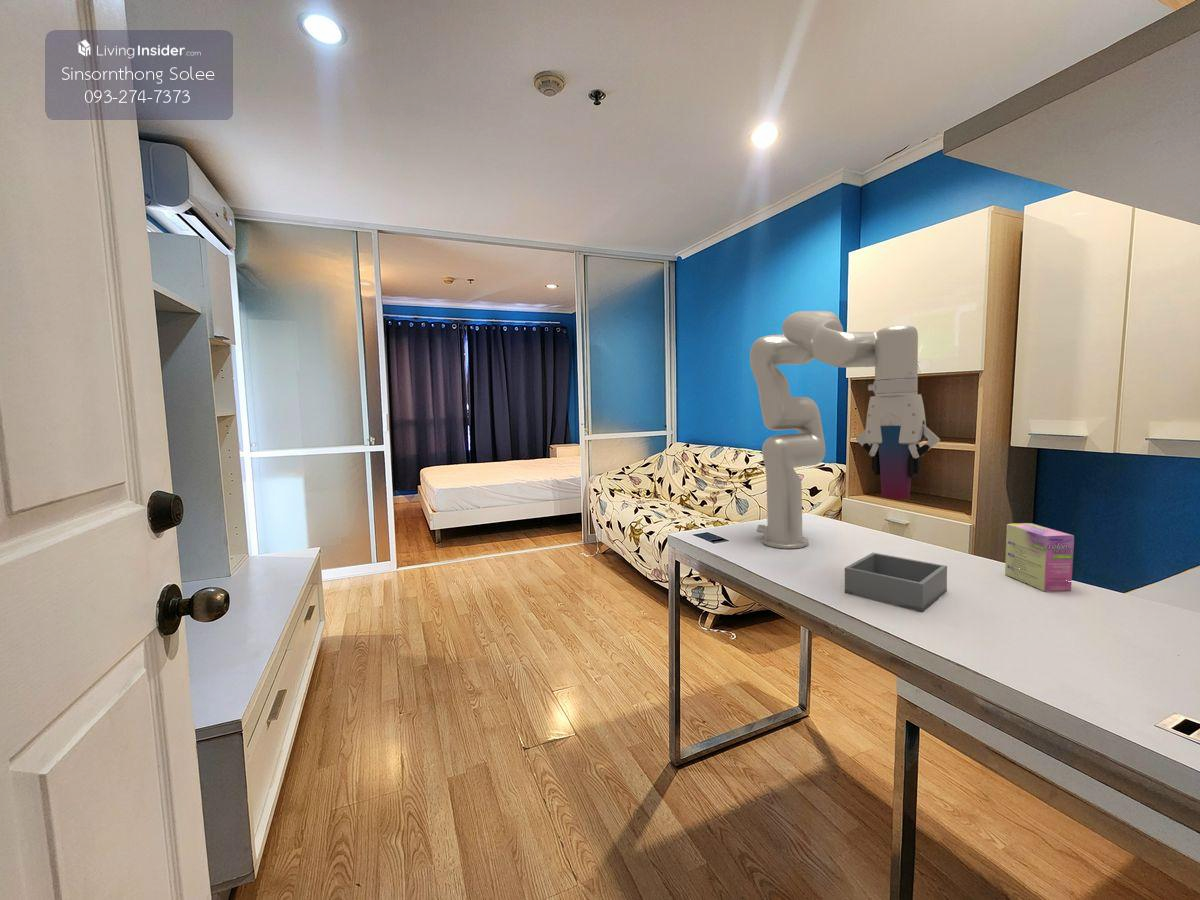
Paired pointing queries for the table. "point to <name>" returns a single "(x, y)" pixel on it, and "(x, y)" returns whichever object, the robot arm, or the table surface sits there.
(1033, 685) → the table surface
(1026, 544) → the box
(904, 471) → the cup
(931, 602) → the box
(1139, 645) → the table surface
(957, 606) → the table surface
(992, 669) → the table surface
